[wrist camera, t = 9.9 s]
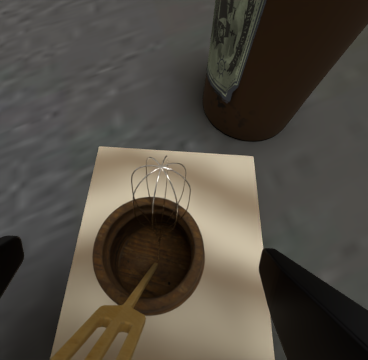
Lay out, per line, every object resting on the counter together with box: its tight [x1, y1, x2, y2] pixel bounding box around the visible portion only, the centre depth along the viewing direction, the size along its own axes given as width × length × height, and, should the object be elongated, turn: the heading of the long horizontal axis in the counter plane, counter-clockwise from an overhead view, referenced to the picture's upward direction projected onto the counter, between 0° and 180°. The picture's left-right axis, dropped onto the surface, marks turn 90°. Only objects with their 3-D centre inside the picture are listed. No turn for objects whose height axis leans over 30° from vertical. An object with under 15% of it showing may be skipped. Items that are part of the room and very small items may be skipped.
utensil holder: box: [50, 156, 205, 360], centre depth 11 cm, size 6×6×12 cm
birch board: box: [50, 146, 275, 360], centre depth 17 cm, size 20×14×1 cm
